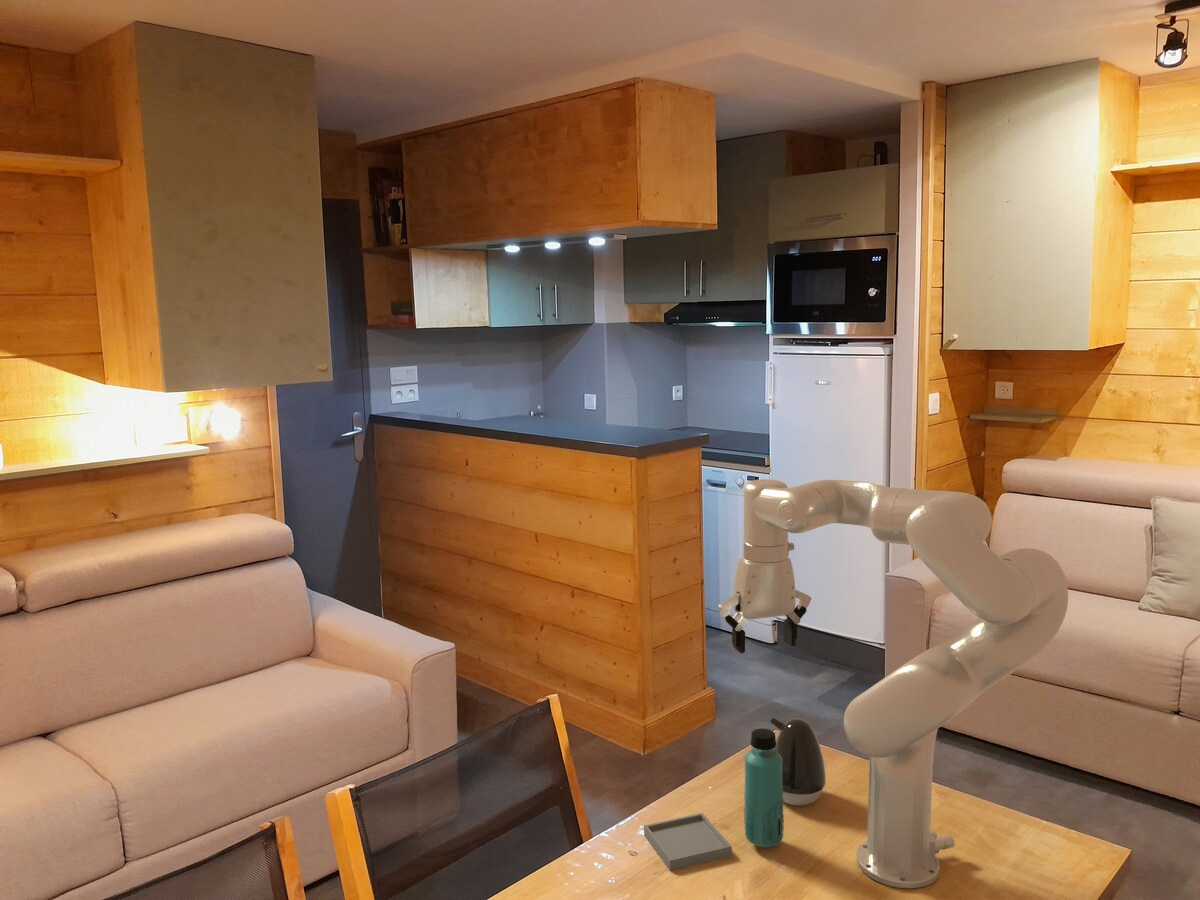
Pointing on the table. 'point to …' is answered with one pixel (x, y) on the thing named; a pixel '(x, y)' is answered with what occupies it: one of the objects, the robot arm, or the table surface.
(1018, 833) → the table surface
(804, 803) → the pump dispenser
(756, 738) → the beverage bottle
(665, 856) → the tray
